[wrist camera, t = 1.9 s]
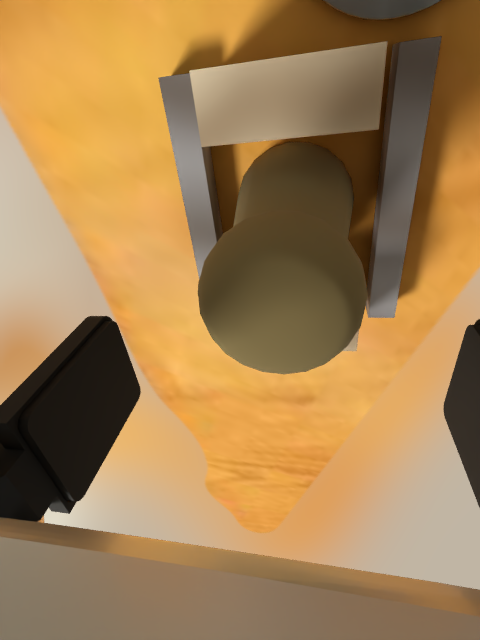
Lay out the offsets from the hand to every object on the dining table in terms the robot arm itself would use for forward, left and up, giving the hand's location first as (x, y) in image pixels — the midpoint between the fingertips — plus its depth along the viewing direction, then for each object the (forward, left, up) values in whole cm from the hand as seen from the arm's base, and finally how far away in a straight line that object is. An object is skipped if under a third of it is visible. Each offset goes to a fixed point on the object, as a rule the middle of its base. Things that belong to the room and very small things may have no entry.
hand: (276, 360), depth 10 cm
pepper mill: (-1, 0, -12) cm, 12 cm away
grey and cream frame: (-1, 0, -11) cm, 11 cm away
